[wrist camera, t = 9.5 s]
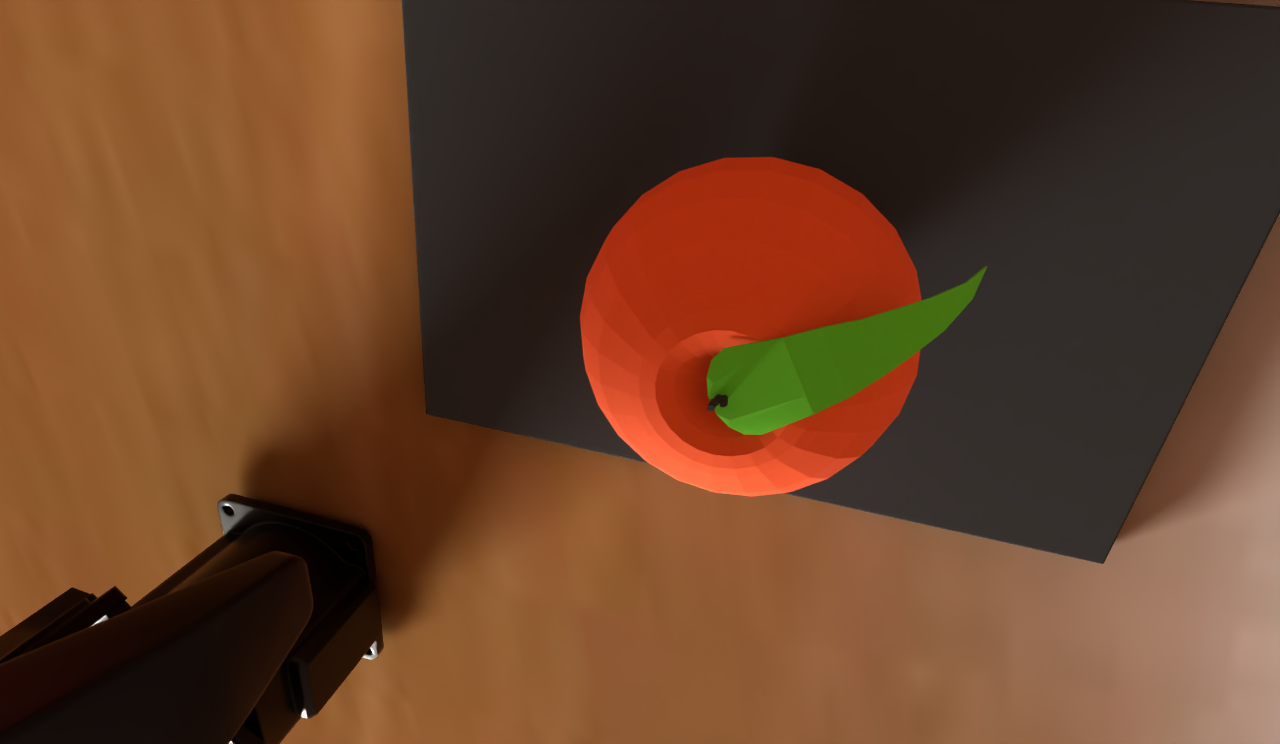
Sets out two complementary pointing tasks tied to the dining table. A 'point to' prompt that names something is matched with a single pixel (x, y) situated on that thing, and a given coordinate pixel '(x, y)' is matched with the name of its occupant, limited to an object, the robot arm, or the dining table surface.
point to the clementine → (756, 325)
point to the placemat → (896, 186)
